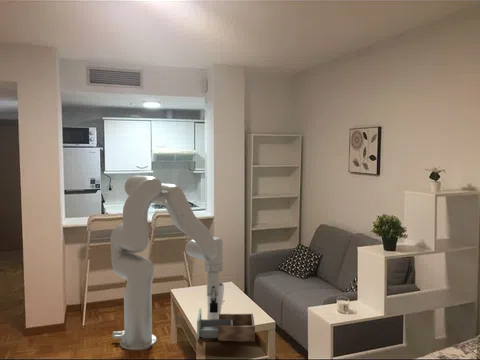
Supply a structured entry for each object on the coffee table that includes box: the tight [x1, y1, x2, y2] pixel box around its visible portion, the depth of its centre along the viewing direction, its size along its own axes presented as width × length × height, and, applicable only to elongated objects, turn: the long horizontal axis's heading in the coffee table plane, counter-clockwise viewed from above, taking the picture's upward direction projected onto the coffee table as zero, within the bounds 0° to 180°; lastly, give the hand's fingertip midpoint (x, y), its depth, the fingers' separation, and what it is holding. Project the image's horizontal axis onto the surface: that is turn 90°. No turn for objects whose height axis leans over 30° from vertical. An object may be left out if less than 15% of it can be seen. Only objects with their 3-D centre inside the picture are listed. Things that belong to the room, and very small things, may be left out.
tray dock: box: [217, 313, 256, 343], centre depth 154 cm, size 14×12×6 cm
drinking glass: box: [206, 282, 225, 319], centre depth 168 cm, size 7×7×15 cm
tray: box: [196, 307, 233, 339], centre depth 153 cm, size 13×12×7 cm
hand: (214, 308), depth 168 cm, fingers closed on drinking glass, 6 cm apart
